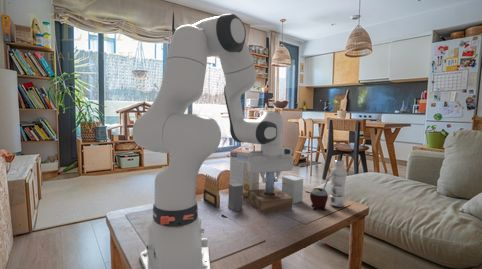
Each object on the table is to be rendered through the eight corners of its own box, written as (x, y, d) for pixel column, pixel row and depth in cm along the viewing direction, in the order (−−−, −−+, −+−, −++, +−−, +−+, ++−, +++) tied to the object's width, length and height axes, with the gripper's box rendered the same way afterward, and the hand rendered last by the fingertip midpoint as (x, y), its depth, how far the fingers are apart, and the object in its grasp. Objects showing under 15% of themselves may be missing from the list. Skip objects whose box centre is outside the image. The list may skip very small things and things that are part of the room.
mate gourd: (306, 207, 111) (308, 172, 109) (316, 203, 116) (318, 170, 115) (321, 213, 105) (324, 176, 104) (332, 208, 110) (334, 173, 109)
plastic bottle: (345, 209, 110) (348, 162, 108) (328, 207, 112) (330, 161, 110) (344, 204, 116) (347, 159, 114) (328, 202, 118) (331, 158, 116)
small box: (302, 201, 118) (303, 178, 117) (293, 203, 115) (294, 180, 114) (289, 196, 125) (290, 174, 124) (281, 198, 121) (282, 176, 120)
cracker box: (259, 196, 124) (260, 152, 122) (251, 199, 120) (252, 153, 117) (237, 189, 133) (238, 148, 131) (228, 191, 129) (229, 149, 127)
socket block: (292, 209, 108) (292, 197, 108) (261, 213, 103) (261, 201, 103) (275, 198, 121) (276, 187, 121) (247, 201, 116) (248, 190, 116)
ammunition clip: (219, 207, 109) (220, 178, 108) (216, 208, 108) (216, 179, 107) (206, 199, 117) (207, 173, 116) (203, 200, 116) (203, 173, 115)
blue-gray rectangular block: (275, 192, 111) (276, 169, 110) (267, 193, 110) (268, 169, 109) (271, 189, 114) (272, 167, 113) (263, 190, 113) (264, 167, 112)
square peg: (242, 209, 107) (242, 185, 106) (233, 210, 105) (233, 186, 104) (237, 205, 111) (237, 182, 110) (228, 207, 109) (228, 183, 108)
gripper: (251, 152, 104) (250, 186, 105) (295, 150, 111) (294, 182, 112) (245, 149, 109) (244, 182, 111) (288, 147, 117) (286, 178, 118)
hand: (270, 182), depth 112 cm, fingers closed on blue-gray rectangular block, 4 cm apart
